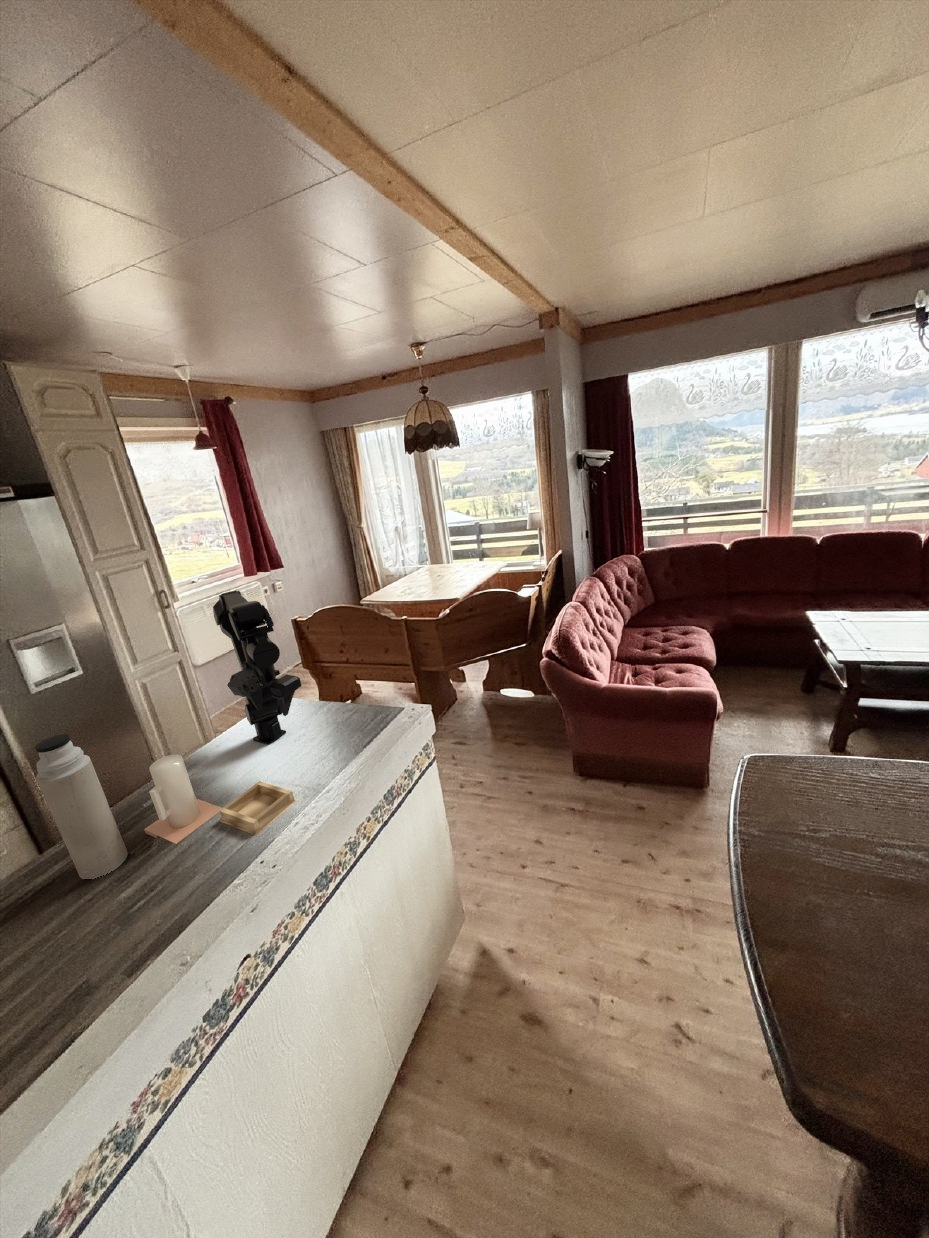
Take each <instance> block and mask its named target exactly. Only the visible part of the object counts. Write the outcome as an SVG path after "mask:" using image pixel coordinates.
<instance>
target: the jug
mask: <svg viewBox="0 0 929 1238" xmlns="http://www.w3.org/2000/svg"><path fill="white" fill-rule="evenodd" d="M184 761H185V760H184V759H183V756H182V755H181V754H170V755H166V756H163V757H161V758H159V759H157V760H155V761H154V762H153V763H152V764H151V765H149V772H150V775H151V778H152V781H153V784H154V787H153V788H151V790H149V791H148V792H149V795H150V797H151V800H152V803H153V806H154V809H155V812H156V814H157V816H158V820H165V819H166V818H167V820H168V822H169V825H170V827H172V828H182V827H185V826H187V825H189V824H191V823H193V822H194V821H195V820H196V819H197V818H198V817H199V816H200V809H199V806H198V803H197V800H196V794H195V791H194V789H193V787H192V786H193V785H192V782H191V780H190V779H191V778H190V777H189V773H188V770H187V767H186V765H185V762H184Z"/></svg>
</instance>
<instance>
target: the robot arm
mask: <svg viewBox="0 0 929 1238" xmlns="http://www.w3.org/2000/svg"><path fill="white" fill-rule="evenodd" d="M212 611H213V612H212V613H213V619H214V621H215V624H216V626H219V628H220V630H221V633H222V634H223V635H225V636H227V637H228V638H229V639H230V641H231V643H232V646H233V649H234V651H235V655H236V658H237V661H238V664H239V666H240V669H241V670H240V671H238V672H235V673H233V674H232V675H231V676H230V678H229V681H228V683H227V685H226V686H227V687H228V689H229V690H230V691H231V692H232V694H233V695H234V696H240V697H242V698H245V699H244V700H245V703H246V704H245V705H244V713H245V716H246V720H247V721H248V723H249V725H250V726H254V728H255V731H256V732H255V733H256V736H254V737H253V738H252V740H253V741H255V742H258V743H262V744H265V745H270V744H272V743H273V742H274V741H276V740H278V739H279V738H280V737H282V736H284V735H285V734H287V730H285V729H282V727H281V724H280V721H279V718H278V716H281V715H282V716H283V717H286V716H288V715H289V713H290V708H291V705H292V702H293V698H294V694H295V692H296V691H297V690H298V689H299V688H301V687H302V682H301V681H302V680H301V677H299V676H297V675H292V674H284V675H282V676H281V677H280V678H277V676H279V675H281V672H280V670H279V669H276V668H275V664H276V663H277V661H278V660H280V659H279V658H280V655H281V651H280V647H278V645H277V644H275V643H274V642H273V641H272V639H271V638H270V637H269V635H268V633H272V632H274V621H273V619H272V617H271V614H270V612H269V610H268V609H267V608H266V607H265V605H264V604H261V602H260V601H258V600H251V601H248V600H247V599H246V598H245V597H244V596H243V595H242V593H241V591H240V590H233V591H231V590H230V591H227V592H222V593H221V594H219V595H218V601H217V602H215V603H214V605H213V606H212Z"/></svg>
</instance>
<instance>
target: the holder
mask: <svg viewBox="0 0 929 1238" xmlns="http://www.w3.org/2000/svg"><path fill="white" fill-rule="evenodd" d="M297 801H298V799H295V797H294V793H293V791H292V790H289V789H286V788H283V787H279V786H276V785H273V784H270V783H267V782H264V781H260V780H259V781H258V782H256V783H254V784H253V785H252V786H251V787H249V788H248V789H246V790H245V791H244V792H243V793H241V794H240V795H239V796H237V797H235V798H234V800H233V799H232V801H231V802H230V803H228V804H227V805H225V806H224V807H222V808H223V809H221V810H220V812H219V813H220V818H221V820H220V821H219V822H220V823H223V824H226V825H227V826H230V827H233V828H235V829H238V830H240V831H243V832H245V833H249V834H251V835H253V836H258V835H259V834H260V833H261V832H262V831H264V830H265V829H266V828H267V827H269V825H270V824H271V823H273V822H274V821H275V820H276V819H278V818H279V816H282V815H283V813H284V812H286V811H287V810H289V808H291V807H292V806H293V805H294V804H295V803H296V802H297Z"/></svg>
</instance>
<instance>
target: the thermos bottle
mask: <svg viewBox="0 0 929 1238" xmlns="http://www.w3.org/2000/svg"><path fill="white" fill-rule="evenodd" d="M35 751H36V752H37V753H38V756H39V760H38V761H37V763H36V769H37V770H36V771H37V774H36V777H35V778H36V781H37V784H38V785H39V788H40V791H41V792H42V796H43V798H44V800H45V802H46V804H47V806H48V808H49V811H50V814H51V815H52V817H53V820H54V822H55V825H56V826H57V829H58V831H59V833H60V835H61V838H62V840H63V842H64V844H65V846H66V849H67V851H68V853H69V856H70V858H71V860H72V861H73V865H74V867H75V870H76V871H77V873H78V876H79V878H80V879H82V880H84V879H92V880H96V879H98V878H97V877H99V878H101V877H100V876H102V877H104V876H107V875H108V874H110V873H112V872H113V871H115V870H116V869H118V868H119V867H120V866H121V865H122V864H123V863H124V862H125V861H126V859H127V857H128V849H127V847H126V845H125V842H124V839H123V838H122V835H121V833H120V832H121V831H120V830H119V829H120V828H119V827H118V825H117V822H116V819H115V817H114V815H113V813H112V810H111V808H110V805H109V802H108V800H107V797H106V794H105V792H104V789H103V787H102V785H101V782H100V779H99V778H98V775H97V772H96V769H95V767H94V764H93V763H92V759H91V757H90V756H89V755H87V754H84V750H83V749H82V748H81V747H80V746H74V744H73V742H72V740H71V737H70V735H69V734H66V733H64V734H58V735H54V736H51V737H48V738H46V739H43V740H41V741H39V742H38V743H37V744H36V745H35ZM111 871H112V872H111ZM107 873H108V874H107ZM106 874H107V875H106ZM103 875H104V876H103ZM95 878H96V879H95Z"/></svg>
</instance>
